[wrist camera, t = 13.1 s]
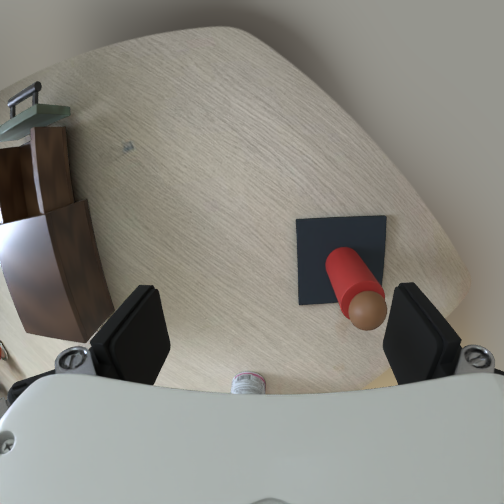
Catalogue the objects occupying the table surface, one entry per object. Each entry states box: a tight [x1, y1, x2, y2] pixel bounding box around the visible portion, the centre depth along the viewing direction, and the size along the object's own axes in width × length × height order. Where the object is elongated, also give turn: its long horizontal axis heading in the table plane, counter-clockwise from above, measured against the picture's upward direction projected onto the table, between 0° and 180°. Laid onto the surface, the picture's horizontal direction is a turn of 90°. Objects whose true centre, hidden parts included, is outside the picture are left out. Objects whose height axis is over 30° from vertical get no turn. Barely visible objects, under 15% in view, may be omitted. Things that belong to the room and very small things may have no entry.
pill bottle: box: [231, 371, 266, 394], centre depth 34 cm, size 5×5×8 cm
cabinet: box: [0, 199, 114, 343], centre depth 30 cm, size 16×13×8 cm
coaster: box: [296, 216, 387, 305], centre depth 31 cm, size 10×10×1 cm
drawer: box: [0, 81, 74, 224], centre depth 25 cm, size 19×11×6 cm, turn 5°
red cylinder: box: [325, 247, 387, 331], centre depth 25 cm, size 4×4×12 cm
